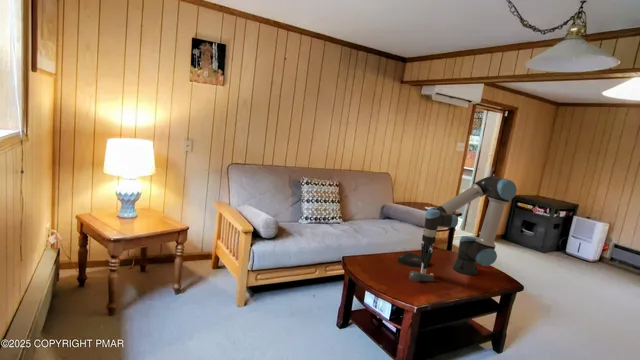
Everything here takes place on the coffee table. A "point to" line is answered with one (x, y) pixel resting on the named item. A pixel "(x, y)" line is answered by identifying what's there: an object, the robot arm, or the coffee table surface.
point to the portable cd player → (410, 260)
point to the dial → (420, 276)
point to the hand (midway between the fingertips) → (423, 273)
